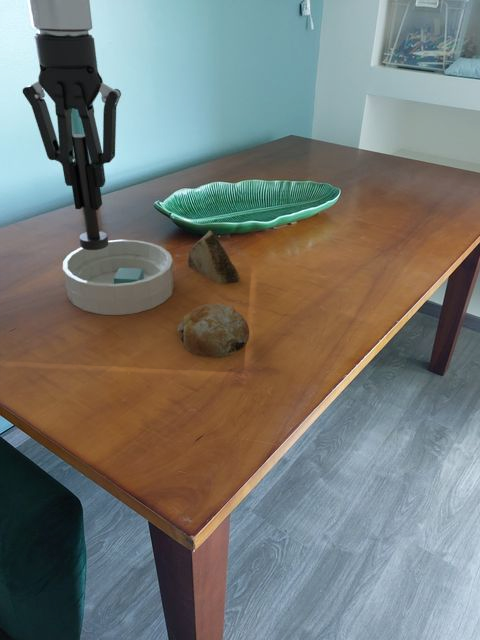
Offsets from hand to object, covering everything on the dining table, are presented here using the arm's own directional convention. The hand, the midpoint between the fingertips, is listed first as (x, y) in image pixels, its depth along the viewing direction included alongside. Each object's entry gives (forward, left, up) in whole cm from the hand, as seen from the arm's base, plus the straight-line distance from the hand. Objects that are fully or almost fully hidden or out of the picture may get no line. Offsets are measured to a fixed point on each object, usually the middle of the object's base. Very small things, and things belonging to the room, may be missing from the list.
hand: (89, 206), depth 84 cm
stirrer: (0, 0, -6) cm, 6 cm away
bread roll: (+21, -14, -15) cm, 29 cm away
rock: (+19, +8, -15) cm, 25 cm away
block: (+6, -2, -14) cm, 16 cm away
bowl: (+4, 0, -15) cm, 16 cm away
